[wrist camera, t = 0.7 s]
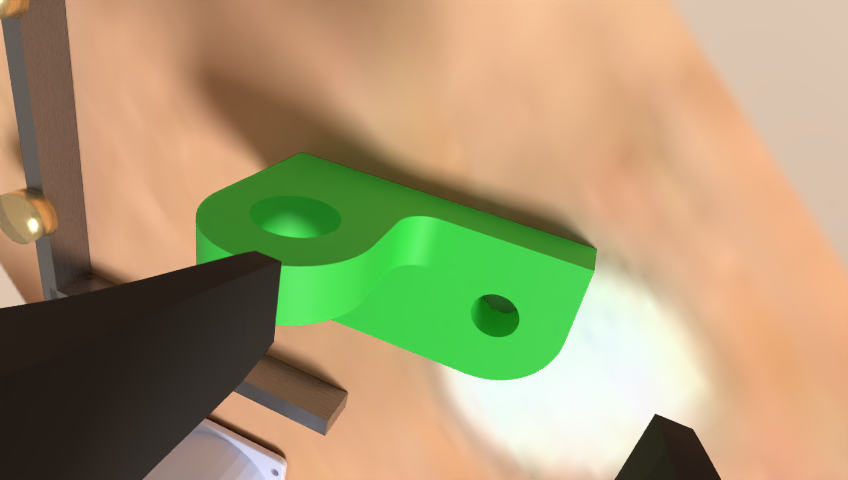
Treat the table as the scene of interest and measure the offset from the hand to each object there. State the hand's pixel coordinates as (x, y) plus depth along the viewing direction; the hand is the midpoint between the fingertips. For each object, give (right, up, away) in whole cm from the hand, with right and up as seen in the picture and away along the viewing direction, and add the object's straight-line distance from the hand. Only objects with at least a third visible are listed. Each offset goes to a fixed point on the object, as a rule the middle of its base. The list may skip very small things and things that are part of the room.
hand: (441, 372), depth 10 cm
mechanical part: (0, +2, +12) cm, 12 cm away
